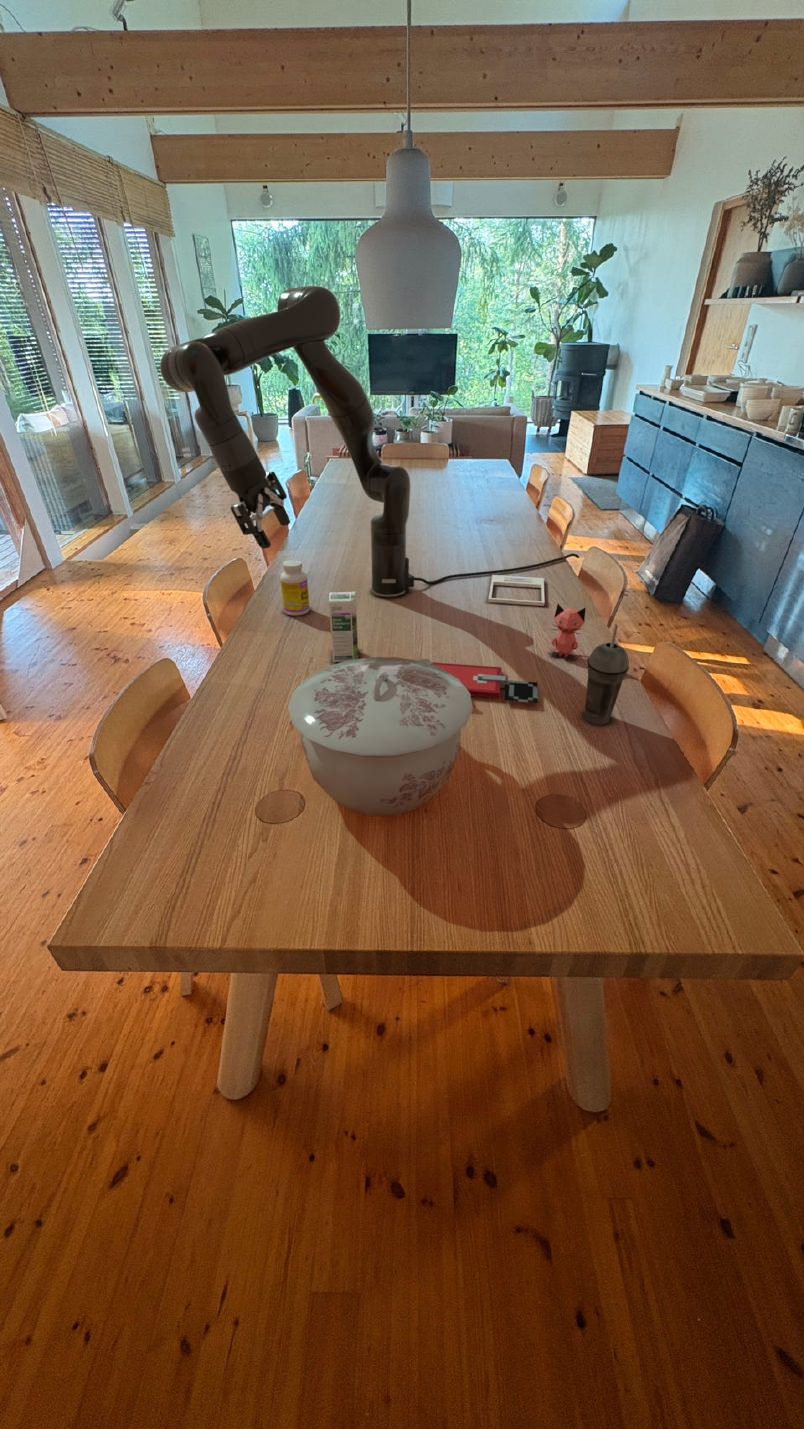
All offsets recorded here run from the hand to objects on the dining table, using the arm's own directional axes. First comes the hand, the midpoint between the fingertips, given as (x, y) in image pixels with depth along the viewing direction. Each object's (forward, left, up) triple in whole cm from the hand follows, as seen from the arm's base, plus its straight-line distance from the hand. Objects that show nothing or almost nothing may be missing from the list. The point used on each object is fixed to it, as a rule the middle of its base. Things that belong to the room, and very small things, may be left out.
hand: (276, 535), depth 127 cm
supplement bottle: (-10, -20, -27) cm, 35 cm away
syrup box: (-10, +8, -27) cm, 30 cm away
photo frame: (-68, -3, -27) cm, 73 cm away
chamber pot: (+3, +53, -27) cm, 59 cm away
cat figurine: (-54, +32, -27) cm, 68 cm away
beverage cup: (-42, +55, -27) cm, 74 cm away
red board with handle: (-26, +33, -27) cm, 49 cm away
